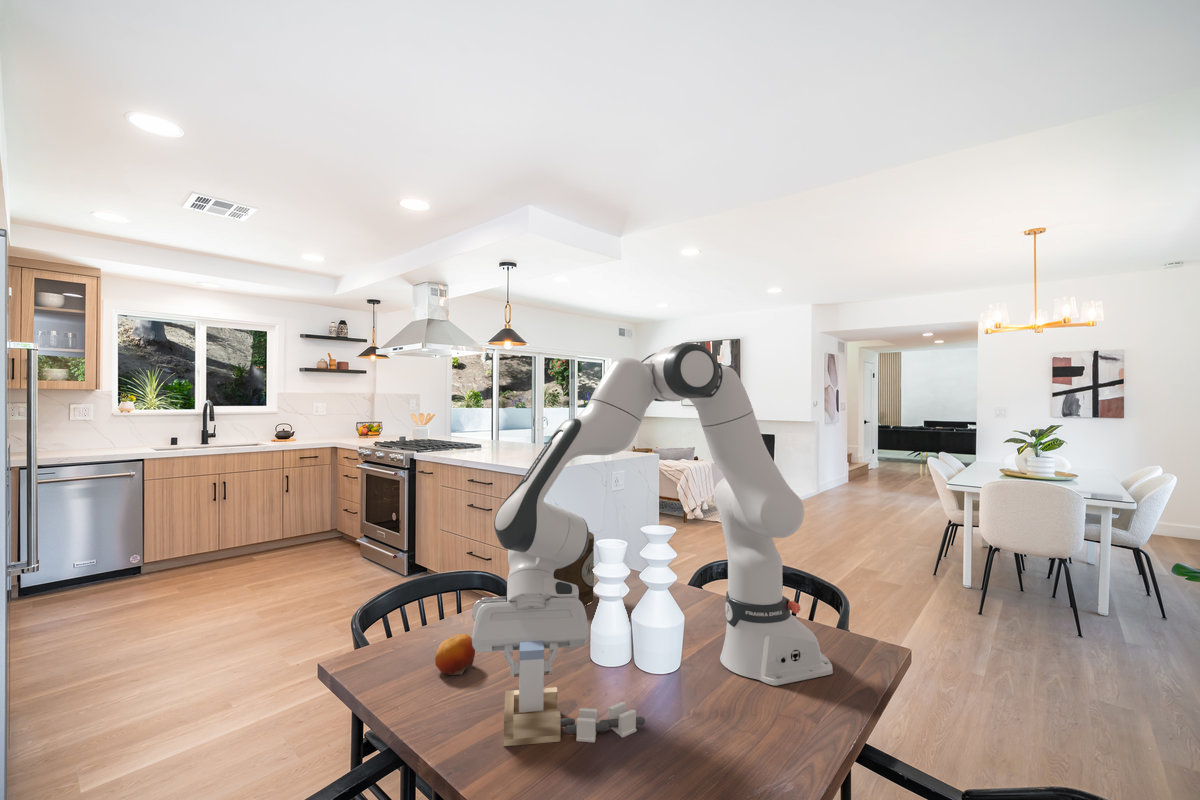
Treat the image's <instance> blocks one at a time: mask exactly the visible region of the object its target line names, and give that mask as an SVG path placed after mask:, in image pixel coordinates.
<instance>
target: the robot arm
mask: <svg viewBox="0 0 1200 800" xmlns="http://www.w3.org/2000/svg"><path fill="white" fill-rule="evenodd" d="M589 399H590V400H589V401H588V403H587V404H586V406H585V408H584V409H583V410H582V411H581V412H580V413H579V414H578V415H577V416H576V417H574V418H570V419H566V420H565V421H564V422H562V423H561V424H560V425H559V427H557V428H556V430H555V431H554V433H553V434H552V435H551V436H550V438H549V439H548V441H547V442H546V444H545V445H544V447H543V448H541V451H540V453H539V454H538V455H537V457H536V458H535V460H534V461H533V463H532V464H531V466H530V467H529V469H528V470H527V472H526V473H525V475H524V476H523V477H522V479H521V480H520V482H519V483H518V485H517V486H516V488H515V489H514V490H513V491H512V492H511V493H510V494H509V495H508V497H506V499H505V500H504V501H503V502H502V503H501V505H500V507H499V508H498V510H497V511H496V514H495V517H494V521H493V525H494V526H493V527H494V531H495V534H496V537H497V539H498V542H499V544H500V545H501V546H502V547H503V548H504V549H505V550H507V563H508V567H509V571H508V575H507V578H506V579H507V581H506V584H507V585H506V596H501V595H500V596H492V597H489V596H484V597H482V598H481V599H479V600H477V601H476V602H475V603H474V604H473V607H472V619H473V621H474V624H473V629H472V635H471V638H472V646H473V648H474V649H475V653H491V652H504V658H505V660H506V662H507V664H508V666H509V667H510V678H519V662H515V660H514V658H513V655H514V651H520V642H524V641H542V640H543V644H544V650H545V649H546V650H547V649H548V651H549V652H548V653H549V655H550V656H549V658H548V660H544V676H548V675H552V674H553V663H554V661H555V660H556V658H557V655H558V653H559V649H561V648H579V647H581V648H582V647H584V646H585V645H586V644H587V642H588V641H589V636H590V630H589V624H588V622H589V621H588V617H587V611H586V609H585V607H584V605H583V604H582V602H581V601H580V600H579V599H578V598H579V590H578V586H577V585H575V584H572V583H568V582H564V581H560V580H557V579H554V575H553V573H554V571H555V570H556V569H562V568H564V567H567V566H569V565H571V564H573V563H574V562H576V561H578V560H579V559H580V558H581V557H582V556H583V555H584V554H585V552H586V550H587V547H588V542H589V532H590V531H589V526H588V524H587V521H586V520H585V519H584V518H583V517H581V516H579V515H577V514H575V513H573V512H571V511H568V510H567V509H566V510H565V509H563V508H560V507H558V506H555V505H552V504H550V503H548V502H545V498H546V496H547V495H548V492H549V491H550V489H551V488H552V486H553V485H554V483H555V482H556V481H557V479H558V477H559V476H560V474H561V473H562V471H563V470H564V468H565V467H566V465H567V464H568V463H569V462H570V461H572V460H573V459H575V458H578V457H581V456H611V455H615V454H618V453H620V452H622V451H624V450H625V449H627V448H628V447H629V446H630V445H631V443H632V442H633V441H634V439H635V438H636V435H637V433H638V431H639V428H640V426H641V424H642V421H643V419H644V418H645V417H644V416H645V414H646V411H647V410H648V408H649V406H650V405H651V404H652V403H653V402H654V401H655V402H681V401H684V400H685V399H688V400H689V401H690V402H691V403H692V404H693V406H694V407H695V409H696V411H697V414H698V418H699V421H700V424H701V427H702V431H703V434H704V437H705V440H706V443H707V446H708V449H709V452H710V455H711V458H712V460H713V463H714V464H715V465H716V466H717V468H718V469H719V470H720V471H721V473H722V474H723V478H722V479H720V480H719V481H718V482H717V484H716V485H715V487H714V490H713V495H712V496H713V503H714V506H715V507H716V509H717V511H718V514H719V517H720V522H721V527H722V533H723V537H724V542H725V547H726V556H727V591H726V594H725V605H724V606H725V619H726V627H725V629H726V630H725V637H724V642H723V646H722V650H721V653H720V656H719V660H720V662H721V664H722V665H723V666H724V667H725V668H726V669H728V670H729V671H730V672H732V673H734V674H737V675H739V676H742V677H745V678H748V679H749V678H750V679H755V680H758V681H760V682H762V683H765V684H767V685H770V686H781V685H785V684H790V683H795V682H800V681H806V680H811V679H815V678H819V677H825V676H830V675H833V673H834V667H833V664H832V662H831V661H830V659H828V657H826V655H825V654H824V653H822V652H821V649H820V648H821V647H820V644H819V641H818V638H817V637H816V635H815V634H814V633H813V631H812V630H811V629H809V628H808V627H807V626H806V625H805V624H803V622H801V621H800V620H799V619H797V618H796V617H795V616H794V615H792V613H794V614H799V613H800V612H801V609H802V608H801V605H800V604H799V603H797V602H796V601H795V600H790V599H789V598H788V597H786V596H785V595H783V560H782V558H781V554H780V553H779V551H778V549H777V546H776V544H775V541H774V538H777V539H785V538H788V537H790V536H792V535H794V534H795V533H797V531H798V530H799V529H800V528H801V526H802V524H803V522H804V518H805V509H804V504H803V501H802V500H801V498H800V496H798V494H796V493H795V491H794V490H793V489H792V488H791V487H790V486H789V484H788V483H787V482H786V480H785V478H784V476H783V475H782V473H781V472H780V470H779V468H778V466H777V465H776V463H775V461H774V460H773V458H772V456H771V454H770V452H769V450H768V448H767V446H766V444H765V441H764V439H763V436H762V432H761V430H760V427H759V424H758V421H757V418H756V415H755V411H754V408H753V406H752V403H751V401H750V400H751V399H750V398H749V395H748V393H747V390H746V388H745V386H744V385H743V383H742V381H741V378H740V377H739V375H738V373H737V371H735V369H733V368H732V367H729V366H726V365H721V363H719V362H718V361H717V358H715V355H714V354H713V353H712V352H711V351H710V350H709V349H708V348H706V347H705V346H703V345H701V344H699V343H693V342H684V343H680V344H677V345H670V346H667V347H664V348H663V349H661V350H659V351H657V352H654V353H652V354H650V355H648V356H646V358H644V359H643V360H641V361H640V360H639V359H635V358H633V357H622V358H618V359H616V360H614V361H613V362H612V363H611V364H610V365H609V367H608V368H607V370H606V371H605V372H604V374H603V376H602V377H601V378H600V380H599V382H598V383H597V386H596V387H595V389H594V391H593V392H592V394H591V397H590V398H589ZM791 612H792V613H791Z"/></svg>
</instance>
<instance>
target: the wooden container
mask: <svg viewBox="0 0 1200 800" xmlns="http://www.w3.org/2000/svg"><path fill="white" fill-rule="evenodd" d="M594 547H595V534H594V533H593V532H592V531H591V532H590V531H589V542H588V547H587V550H586V552H585V554H584V555H583V556H582V557H581V558H580V559H579V560H578V561H576V562H574V563H573V564H571V565H569V566H567V567H564V568H562V569H556V570H555V571H554V573H553V575H554V579H557V580H560V581H564V582H568V583H572V584H575V585H577V586H578V590H579V598H578V599H579V600H580V601H581V602H582V604H583V605H584V606H585V605H587V604H588V603H590V602H592V601H593V602H594V593H593V587H595V572H594V573H593V571H592V569H593V568H594V569H595V563H594V562H595V559H594V558H595V556H594V554H595V552H594V551H595V550H594ZM593 602H592V603H593Z"/></svg>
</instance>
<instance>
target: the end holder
mask: <svg viewBox="0 0 1200 800" xmlns="http://www.w3.org/2000/svg"><path fill="white" fill-rule="evenodd" d="M504 692H505V694H504V710H503V711H504V712H503V747H511V746H520V745H521V746H522V745H523V746H524V745H532V744H545V743H554V742H555V743H556V742H561V727H560V721H561V719H562V718H561V717H562V716H561V711H560V710H558V687H556V686H555V687H544V702H543V711H533V712H520V713H519V689H514V690H505V691H504Z"/></svg>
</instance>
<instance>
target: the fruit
mask: <svg viewBox="0 0 1200 800" xmlns="http://www.w3.org/2000/svg"><path fill="white" fill-rule="evenodd" d="M434 656H435V658H434V663H435V666H436V668H437V669H438V670H439V671H440V673H442V674H444V675H446V676H447V675H449V676H454V675H461V676H463V673H464V672H465V670H467V668H474V669H476V667H475V666H474V665H473V663H474V661H475V660H474V659H475V656H476V651H475V649H474V648H473V646H472V636H470V635H468V634H467V633H463V634H462V633H458V634H456V635H452V637H448V638H447V639H444V640H443V641H442V642H440V644H439V647H438V648H437V650H436V654H435V655H434Z"/></svg>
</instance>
